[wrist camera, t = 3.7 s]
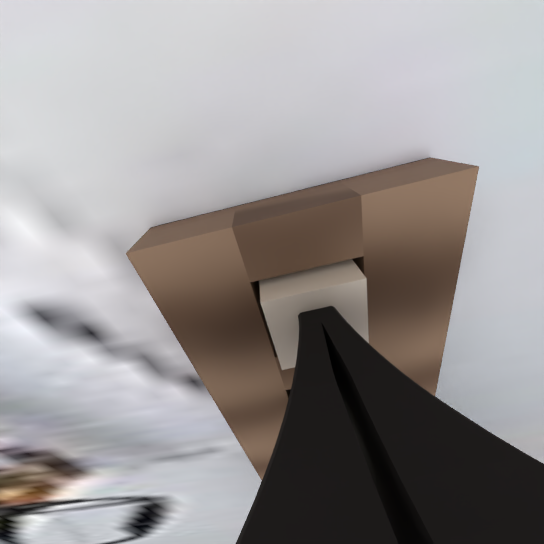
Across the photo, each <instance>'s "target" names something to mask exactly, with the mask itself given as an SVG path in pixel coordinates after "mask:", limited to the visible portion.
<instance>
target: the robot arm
mask: <svg viewBox="0 0 544 544" xmlns="http://www.w3.org/2000/svg"><path fill="white" fill-rule="evenodd" d="M298 320H299V341H298V350H297V359H296V365H295V370H294V376H293V381H292V386H291V391H290V395H289V399H288V403H287V407H286V411H285V414H284V418H283V421H282V424H281V428H280V431H279V434H278V437H277V440H276V444H275V447H274V449H273V452H272V455H271V458H270V461H269V463H268V466H267V469H266V471H265V474H264V477H263V479H262V482H261V485H260V487H259V490H258V493H257V495H256V498H255V500H254V503H253V505H252V507H251V510H250V512H249V514H248V517H247V519H246V521H245V524H244V526H243V528H242V531H241V533H240V535H239V538H238V540H237V542H236V544H544V464H543V463H541V462H539V461H538V460H536V459H534V458H532V457H531V456H529V455H527V454H525V453H524V452H522V451H520V450H519V449H517V448H515V447H514V446H512V445H510V444H509V443H507V442H505V441H504V440H502V439H500V438H498V437H497V436H495V435H493V434H492V433H490V432H488V431H487V430H485V429H484V428H482V427H481V426H479V425H478V424H476V423H474V422H473V421H471V420H470V419H468V418H467V417H465V416H464V415H462V414H461V413H459V412H457V411H456V410H454V409H453V408H451V407H450V406H448V405H447V404H445V403H444V402H442V401H441V400H439V399H438V398H437V397H435V396H434V395H432V394H431V393H429V392H428V391H427V390H425V389H424V388H422V387H421V386H420V385H418V384H417V383H416V382H414V381H413V380H412V379H410V378H409V377H408V376H406V375H405V374H404V373H403V372H401V371H400V370H399V369H398V368H396V367H395V366H394V365H393V364H392V363H390V362H389V361H388V360H387V359H386V358H385V357H383V356H382V355H381V354H380V353H379V352H378V351H377V350H375V349H374V348H373V347H372V346H371V345H370V344H369V343H368V342H367V341H366V340H365V339H364V338H363V337H362V336H360V335H359V334H358V333H357V332H356V331H355V330H354V329H353V327H352V326H351V325H350V324H349V323H348V322H347V321H346V320H345V319H344V318H343V317H342V316H341V314H340V313H339V312H338V311H337V310H336V308H335V307H333V306H328V307H323V308H319V309H315V310H310V311H306V312H301V313H300V314H299V315H298Z"/></svg>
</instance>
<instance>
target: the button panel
mask: <svg viewBox="0 0 544 544" xmlns="http://www.w3.org/2000/svg"><path fill="white" fill-rule="evenodd" d="M478 169H479V166H474V165H468V164H463V163H457V162H452V161H446V160H441V159H435V158H427V159H423V160H419V161H415V162H411V163H407V164H403V165H399V166H395V167H391V168H387V169H383V170H379V171H375V172H371V173H367V174H363V175H359V176H355V177H351V178H347V179H343V180H339V181H335V182H331V183H327V184H323V185H319V186H315V187H311V188H307V189H303V190H299V191H295V192H291V193H287V194H283V195H279V196H275V197H271V198H267V199H263V200H259V201H255V202H251V203H247V204H243V205H239V206H235V207H231V208H227V209H223V210H219V211H215V212H211V213H207V214H203V215H199V216H195V217H191V218H187V219H183V220H179V221H175V222H171V223H167V224H163V225H159V226H156V227H152V228H150V229H149V230H148V231H147V232H146V233H145V234H144V235H143V236H142V237H141V238H140V239H139V240H138V241H137V242H136V243H135V244H134V245H133V246H132V247H131V248H130V250H129V251H128V252H127V253H126V255H127V256H128V258H129V260H130V261H131V263H132V265H133V266H134V268H135V270H136V271H137V273H138V275H139V276H140V278H141V280H142V281H143V283H144V285H145V286H146V288H147V290H148V291H149V293H150V295H151V296H152V298H153V300H154V301H155V303H156V305H157V306H158V308H159V310H160V311H161V313H162V315H163V316H164V318H165V320H166V321H167V323H168V325H169V326H170V328H171V330H172V331H173V333H174V335H175V336H176V338H177V340H178V341H179V343H180V345H181V346H182V348H183V350H184V351H185V353H186V355H187V356H188V358H189V360H190V361H191V363H192V365H193V366H194V368H195V370H196V371H197V373H198V375H199V376H200V378H201V380H202V381H203V383H204V385H205V386H206V388H207V390H208V391H209V393H210V395H211V396H212V398H213V400H214V401H215V403H216V405H217V406H218V408H219V410H220V411H221V413H222V415H223V416H224V418H225V420H226V421H227V423H228V425H229V426H230V428H231V430H232V431H233V433H234V435H235V436H236V438H237V440H238V441H239V443H240V445H241V446H242V448H243V450H244V451H245V453H246V455H247V456H248V458H249V460H250V461H251V463H252V465H253V466H254V468H255V470H256V471H257V473H258V475H259V476H260V478H261V480H262V479H263V477H264V474H265V471H266V469H267V466H268V463H269V461H270V458H271V455H272V452H273V449H274V447H275V444H276V440H277V437H278V434H279V431H280V428H281V424H282V421H283V418H284V414H285V411H286V407H287V403H288V399H289V395H290V391H291V386H292V381H293V376H294V370H295V367H294V368H289V369H285V370H282V369H281V365H280V362H279V359H278V356H277V353H276V350H275V347H274V344H273V340H272V337H271V334H270V331H269V328H268V325H267V322H266V319H265V315H264V312H263V309H262V306H261V303H260V285H259V280H263V279H267V278H272V277H276V276H280V275H284V274H289V273H293V272H297V271H302V270H306V269H310V268H315V267H319V266H323V265H327V264H332V263H336V262H340V261H345V260H349V259H352V260H353V261H354V262H355V264H356V265H357V266H358V268H359V269H360V270H361V272H362V273H363V274H364V276H365V277H366V278H367V307H368V335H369V344H370V345H371V346H372V347H373V348H374V349H375V350H377V351H378V352H379V353H380V354H381V355H382V356H383V357H385V358H386V359H387V360H388V361H389V362H390V363H392V364H393V365H394V366H395V367H396V368H398V369H399V370H400V371H401V372H403V373H404V374H405V375H406V376H408V377H409V378H410V379H412V380H413V381H414V382H416V383H417V384H418V385H420V386H421V387H422V388H424V389H425V390H427V391H428V392H429V393H431V394H432V395H434V396H435V393H436V388H437V383H438V377H439V372H440V367H441V362H442V357H443V351H444V346H445V341H446V336H447V331H448V325H449V320H450V315H451V310H452V305H453V299H454V294H455V289H456V284H457V278H458V273H459V268H460V263H461V258H462V252H463V247H464V242H465V237H466V232H467V226H468V221H469V216H470V211H471V206H472V200H473V195H474V190H475V185H476V180H477V174H478Z"/></svg>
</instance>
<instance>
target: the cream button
mask: <svg viewBox="0 0 544 544" xmlns="http://www.w3.org/2000/svg"><path fill="white" fill-rule="evenodd" d="M259 285H260V303H261V306H262V309H263V312H264V315H265V319H266V322H267V325H268V328H269V331H270V334H271V337H272V340H273V344H274V347H275V350H276V353H277V356H278V359H279V362H280V365H281V369H282V370H285V369H289V368H294V367H295V365H296V359H297V350H298V341H299V320H298V315H299V314H300V313H301V312H306V311H310V310H315V309H319V308H323V307H328V306H333V307H335V308H336V310H337V311H338V312H339V313H340V314H341V316H342V317H343V318H344V319H345V320H346V321H347V322H348V323H349V324H350V325H351V326H352V327H353V329H354V330H355V331H356V332H357V333H358V334H359V335H360V336H362V337H363V338H364V339H365V340H366V341H367V342H368V343H369V335H368V307H367V278H366V277H365V276H364V274H363V273H362V272H361V270H360V269H359V268H358V266H357V265H356V264H355V262H354V261H353V260H352V259H349V260H345V261H340V262H336V263H332V264H327V265H323V266H319V267H315V268H310V269H306V270H302V271H297V272H293V273H289V274H284V275H280V276H276V277H272V278H267V279H263V280H259Z"/></svg>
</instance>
